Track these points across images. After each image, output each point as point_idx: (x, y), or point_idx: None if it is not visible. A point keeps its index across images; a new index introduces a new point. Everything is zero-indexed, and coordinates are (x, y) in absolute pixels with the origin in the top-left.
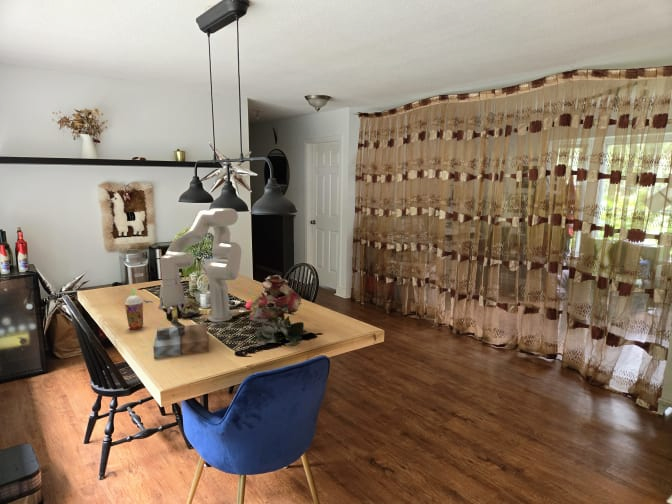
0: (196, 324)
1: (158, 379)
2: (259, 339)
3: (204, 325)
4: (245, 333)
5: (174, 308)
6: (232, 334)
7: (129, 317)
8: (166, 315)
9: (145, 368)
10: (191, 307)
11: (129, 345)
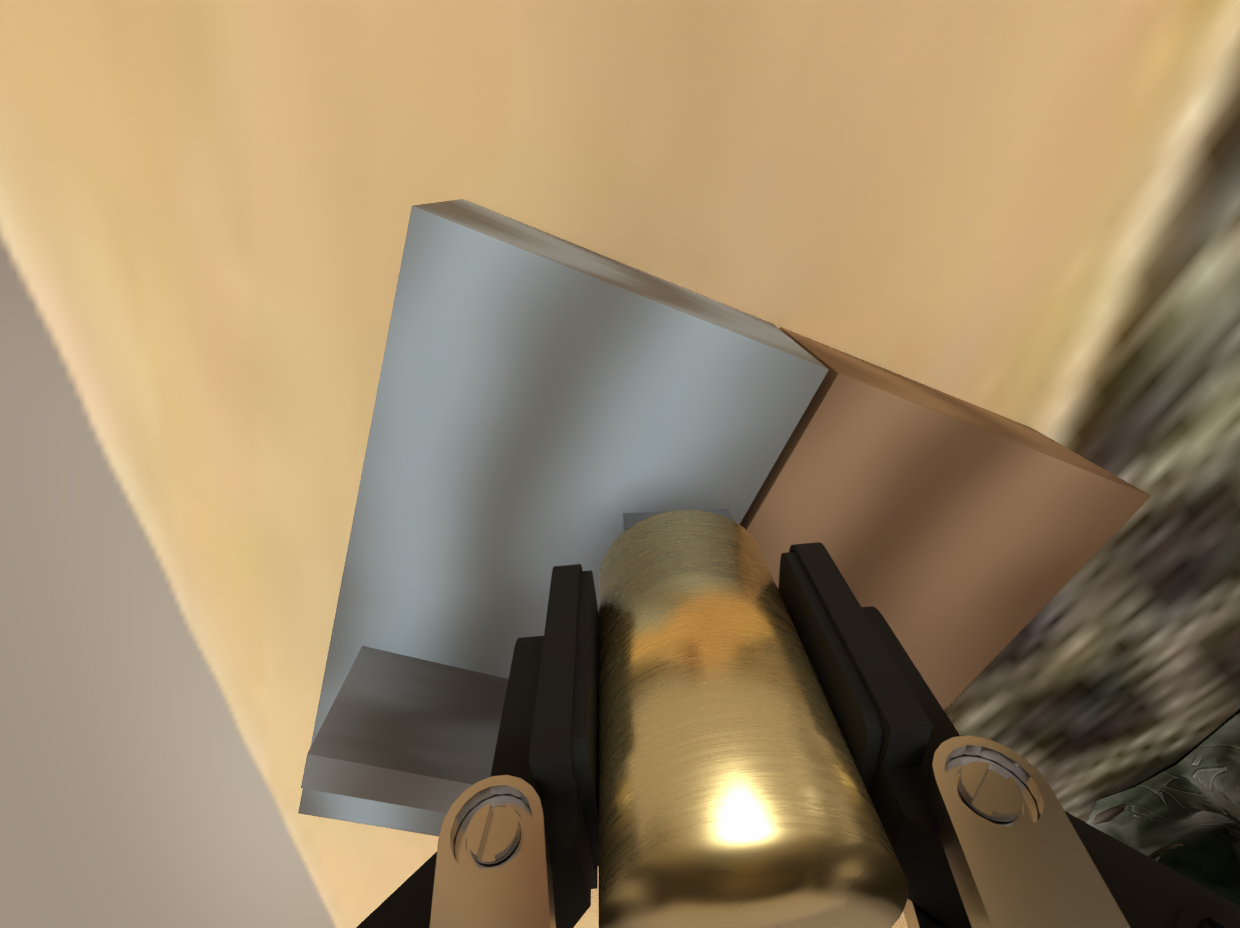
0: (1034, 454)
1: (350, 920)
2: (1130, 801)
3: (1062, 563)
4: (1212, 663)
5: (823, 884)
6: (1134, 622)
7: None
8: (503, 722)
9: (277, 803)
10: None
11: (22, 184)
